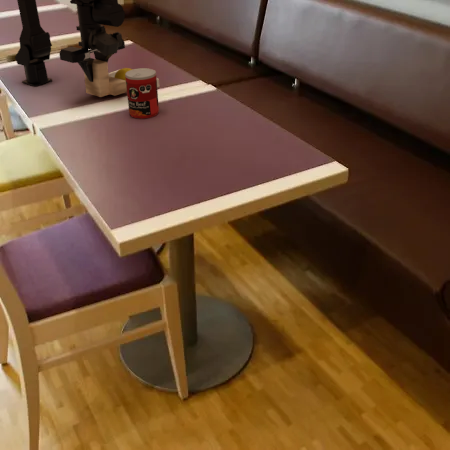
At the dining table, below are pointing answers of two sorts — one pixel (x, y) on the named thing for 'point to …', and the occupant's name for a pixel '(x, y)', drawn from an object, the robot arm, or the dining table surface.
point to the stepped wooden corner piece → (103, 81)
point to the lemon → (122, 73)
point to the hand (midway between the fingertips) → (96, 79)
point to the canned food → (142, 93)
